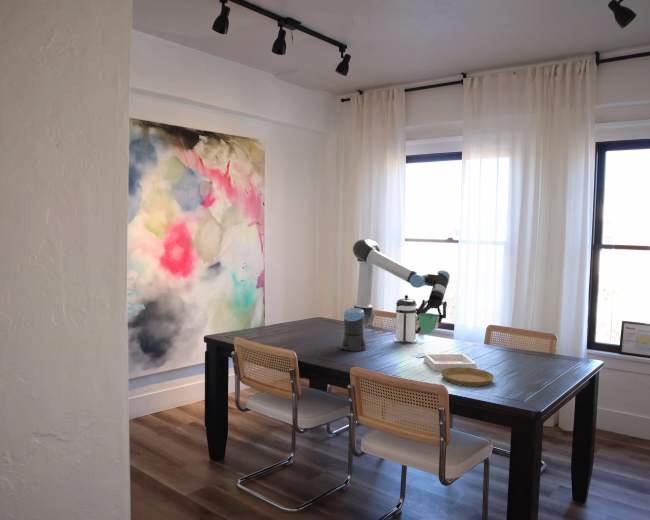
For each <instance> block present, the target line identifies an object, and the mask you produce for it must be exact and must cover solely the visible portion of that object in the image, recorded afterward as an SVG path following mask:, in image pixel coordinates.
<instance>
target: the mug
mask: <svg viewBox="0 0 650 520" xmlns="http://www.w3.org/2000/svg"><path fill="white" fill-rule="evenodd" d="M418 316H419V323H420V327H421V330H420V332H421V333H422V334H425V335H431V334H432V332H433V331H434V330H436V328H435V323H436V320H437V317H438V316H439V313H436V314H435V313H429V312H426V313H420V314H419V315H418ZM418 316H417V317H418Z"/></svg>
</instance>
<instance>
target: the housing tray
mask: <svg viewBox="0 0 650 520" xmlns="http://www.w3.org/2000/svg"><path fill="white" fill-rule="evenodd" d="M423 362H424V363H425V362H426V363H425V364H427V366H428V367H429V368H430V369H431V370H432V371H433V372H441V371H442V370H444V369H447V368H454V367H464V368H474V369H477V362H475V361H474V360H472V359H471V358H470V357H469V356H467V355H466V354H464V353H424V354H423Z"/></svg>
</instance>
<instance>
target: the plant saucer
mask: <svg viewBox="0 0 650 520" xmlns="http://www.w3.org/2000/svg"><path fill="white" fill-rule="evenodd" d="M440 373H441V375H442V377H443V378H444V379H445V380H446V381H447V382H449V383H451V382H452V383H451V384H454V383H455V384H454V385H457V384H460V385H459V386H463V385H467V386H466V387H482V386H481V385H484V386H487V385H489V384H490V383H491V382H492V381H493V380H494V377H495V376H494V374H492V373H491V372H489V371H486V370H482V369H480V368H476V369H474V368H464V367H454V368H447V369H444V370H442V371H440ZM486 384H487V385H486Z"/></svg>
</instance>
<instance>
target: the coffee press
mask: <svg viewBox="0 0 650 520" xmlns="http://www.w3.org/2000/svg"><path fill="white" fill-rule="evenodd" d="M416 306H417V303H416V300H415V299H412V298H409V295H407V294H405V295H404V298H399V299H398V300H397V301H396V302H395V338H394V339H393V342H394V341H396V342H397V341H400V342H402V345H406V342H407V343H408V342H410V343H411V342H414V343H415V344H417V343H418V340H417V338H416V334H418V333H420V332H421V327H418V326H417V324H416V323H417V314H416V312H417V310H418V309H419V308H417V307H416ZM416 328H417V329H416ZM395 339H396V340H395Z"/></svg>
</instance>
